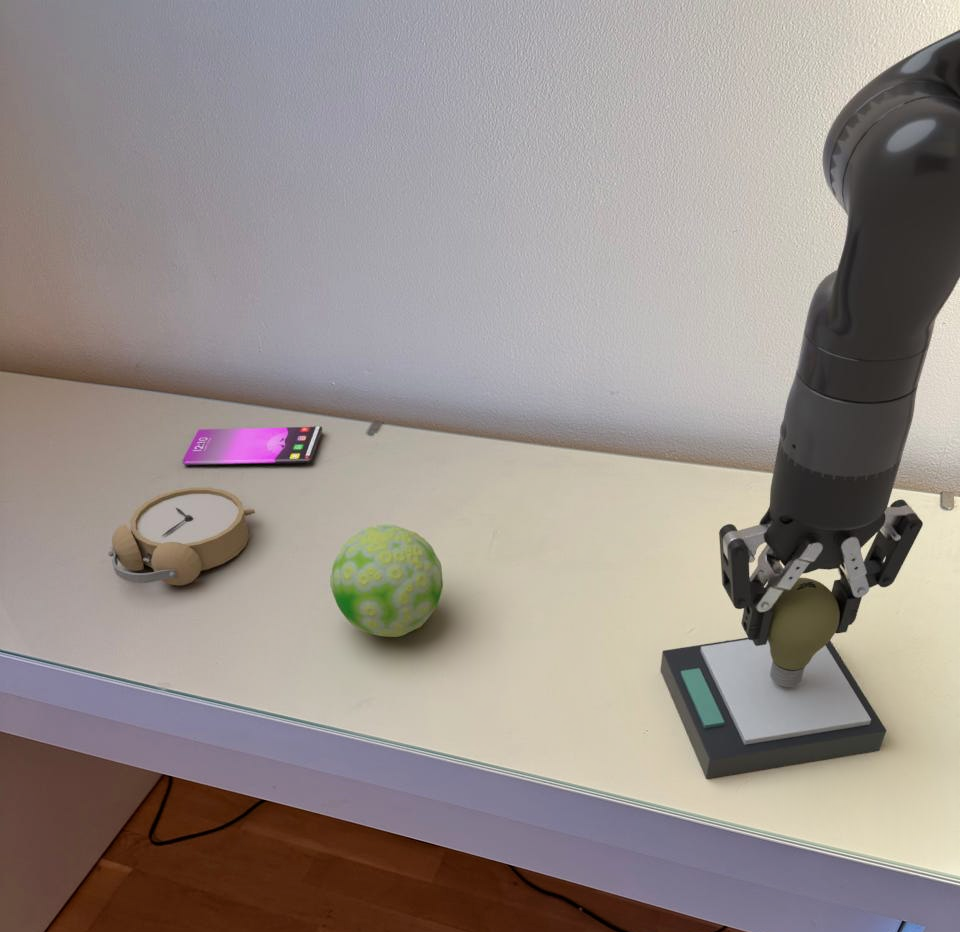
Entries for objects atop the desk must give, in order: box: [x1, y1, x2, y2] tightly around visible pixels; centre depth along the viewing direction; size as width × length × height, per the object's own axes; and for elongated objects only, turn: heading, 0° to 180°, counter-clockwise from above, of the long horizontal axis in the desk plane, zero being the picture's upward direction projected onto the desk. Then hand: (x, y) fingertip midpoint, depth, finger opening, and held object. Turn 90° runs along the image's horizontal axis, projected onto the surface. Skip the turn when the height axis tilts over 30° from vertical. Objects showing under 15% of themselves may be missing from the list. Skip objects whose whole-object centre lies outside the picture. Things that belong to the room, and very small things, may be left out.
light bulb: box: [767, 577, 840, 687], centre depth 73 cm, size 6×6×10 cm
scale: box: [660, 637, 887, 780], centre depth 77 cm, size 14×12×3 cm
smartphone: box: [181, 426, 323, 466], centre depth 111 cm, size 7×15×1 cm, turn 86°
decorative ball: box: [329, 524, 444, 638], centre depth 85 cm, size 10×10×10 cm
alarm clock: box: [107, 487, 256, 586], centre depth 96 cm, size 11×5×15 cm
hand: (796, 631), depth 73 cm, fingers closed on light bulb, 5 cm apart
